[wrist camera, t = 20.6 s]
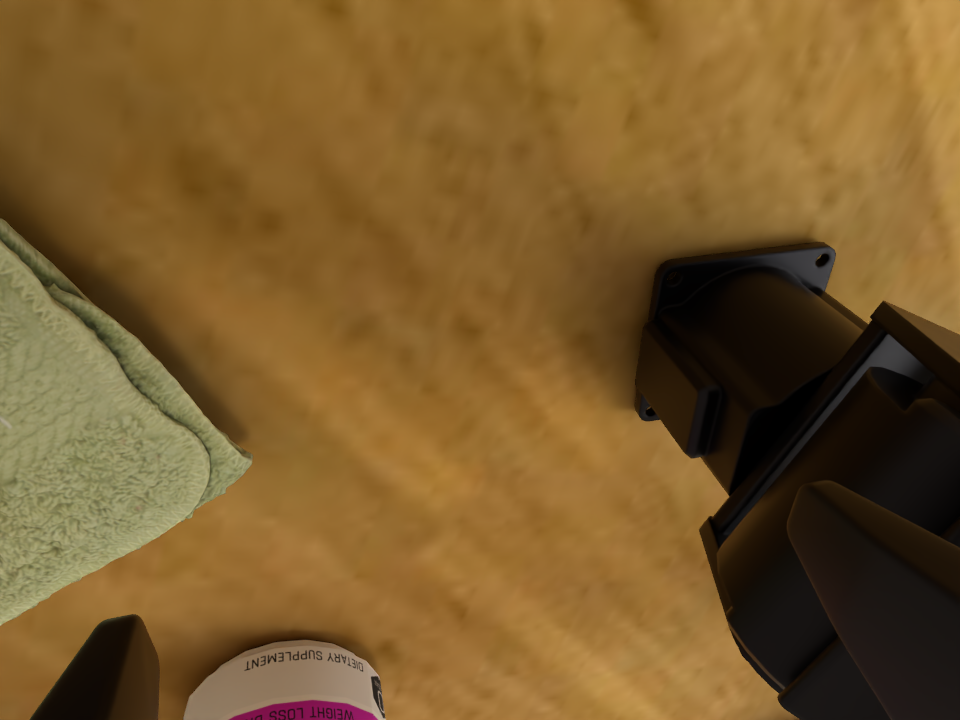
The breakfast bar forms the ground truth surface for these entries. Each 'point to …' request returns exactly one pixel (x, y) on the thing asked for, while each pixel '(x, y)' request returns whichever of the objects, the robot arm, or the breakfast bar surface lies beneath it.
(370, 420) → the breakfast bar surface
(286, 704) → the supplement can
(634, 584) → the breakfast bar surface
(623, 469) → the breakfast bar surface
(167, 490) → the washcloth
